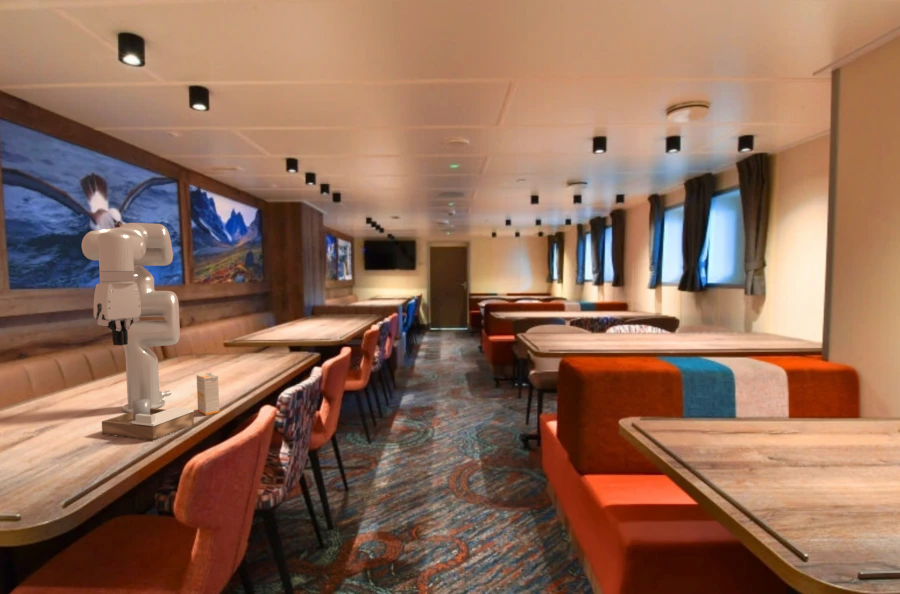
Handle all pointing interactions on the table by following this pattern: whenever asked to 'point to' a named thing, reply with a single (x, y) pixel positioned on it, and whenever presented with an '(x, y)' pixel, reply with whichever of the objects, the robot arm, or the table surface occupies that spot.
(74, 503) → the table surface
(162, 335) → the robot arm
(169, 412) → the lid
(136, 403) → the grey cylinder
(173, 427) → the housing
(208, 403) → the supplement box
